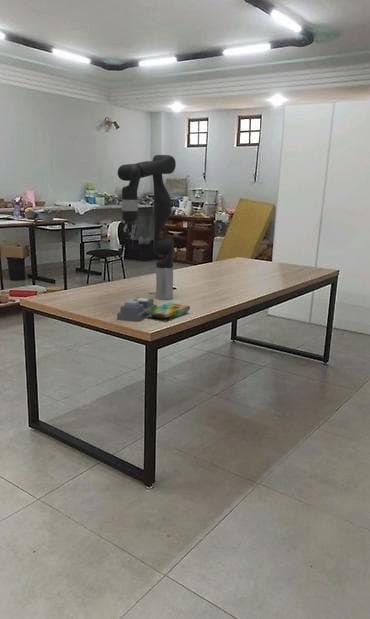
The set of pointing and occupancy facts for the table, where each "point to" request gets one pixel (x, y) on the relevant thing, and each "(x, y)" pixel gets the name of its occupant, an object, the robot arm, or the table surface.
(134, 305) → the blue key
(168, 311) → the puzzle game
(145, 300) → the white key
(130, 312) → the grey plastic block
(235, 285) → the table surface
